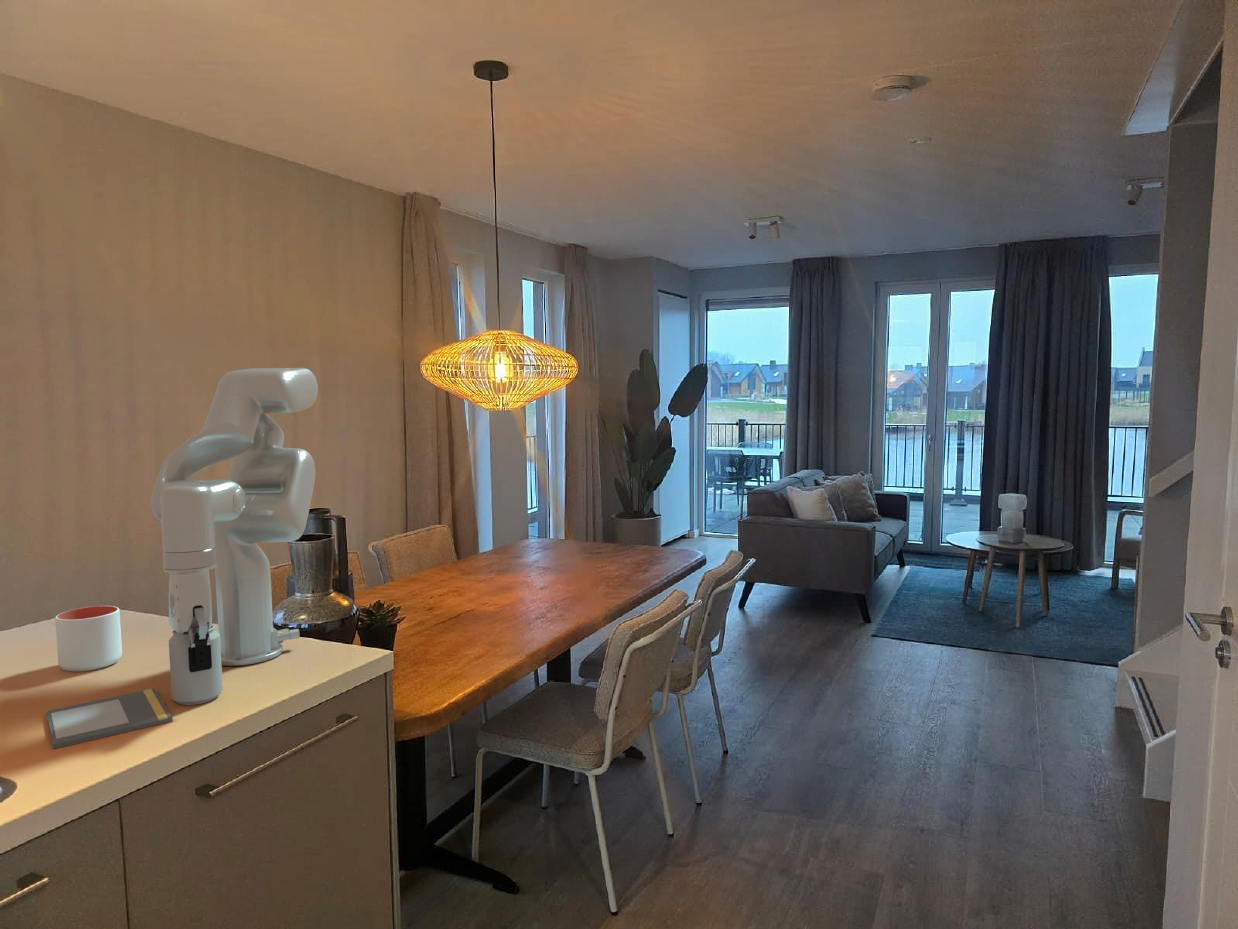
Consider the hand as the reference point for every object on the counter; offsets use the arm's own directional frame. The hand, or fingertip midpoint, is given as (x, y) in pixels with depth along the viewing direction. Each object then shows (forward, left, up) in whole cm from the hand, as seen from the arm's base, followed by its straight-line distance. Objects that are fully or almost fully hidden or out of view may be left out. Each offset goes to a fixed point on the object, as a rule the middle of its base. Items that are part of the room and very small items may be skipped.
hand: (194, 663), depth 130 cm
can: (0, 0, -6) cm, 6 cm away
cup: (+12, -32, -6) cm, 35 cm away
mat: (+12, 0, -6) cm, 14 cm away
